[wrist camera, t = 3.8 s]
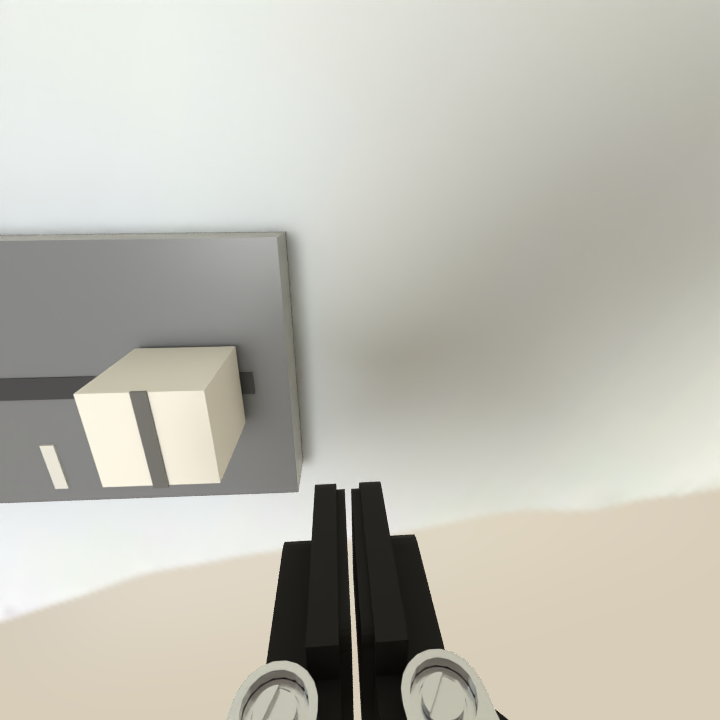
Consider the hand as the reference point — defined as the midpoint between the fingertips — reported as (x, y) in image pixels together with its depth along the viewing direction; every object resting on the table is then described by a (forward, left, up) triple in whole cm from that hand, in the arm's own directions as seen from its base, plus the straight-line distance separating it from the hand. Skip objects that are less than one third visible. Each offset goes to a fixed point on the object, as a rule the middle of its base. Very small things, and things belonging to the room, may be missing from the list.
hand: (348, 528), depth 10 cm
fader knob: (+6, -1, -7) cm, 10 cm away
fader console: (+13, -1, -10) cm, 17 cm away
